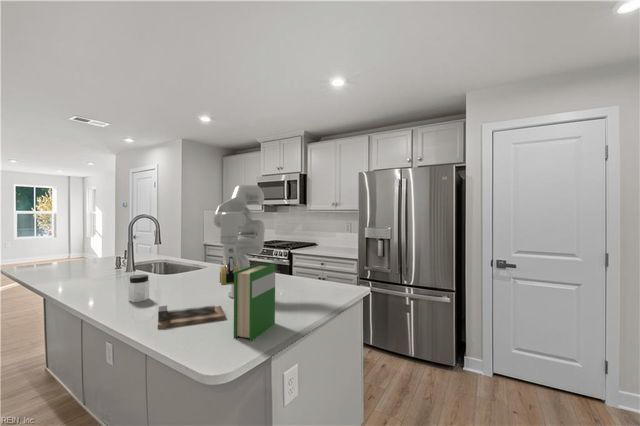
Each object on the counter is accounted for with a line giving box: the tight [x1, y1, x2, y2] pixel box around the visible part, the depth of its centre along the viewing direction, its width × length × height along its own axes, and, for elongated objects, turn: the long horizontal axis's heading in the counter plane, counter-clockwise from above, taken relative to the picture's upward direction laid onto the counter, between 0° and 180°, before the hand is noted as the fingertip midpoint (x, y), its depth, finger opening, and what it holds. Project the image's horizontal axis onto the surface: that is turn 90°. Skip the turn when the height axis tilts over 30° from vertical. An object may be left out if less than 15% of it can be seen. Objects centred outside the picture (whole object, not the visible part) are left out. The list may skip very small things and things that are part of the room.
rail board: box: [157, 304, 226, 329], centre depth 127 cm, size 25×14×6 cm, turn 116°
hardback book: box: [233, 262, 276, 342], centre depth 115 cm, size 18×7×24 cm, turn 161°
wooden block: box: [219, 265, 238, 286], centre depth 133 cm, size 7×6×7 cm
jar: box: [128, 273, 150, 303], centre depth 151 cm, size 9×8×12 cm
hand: (228, 280), depth 133 cm, fingers closed on wooden block, 6 cm apart
